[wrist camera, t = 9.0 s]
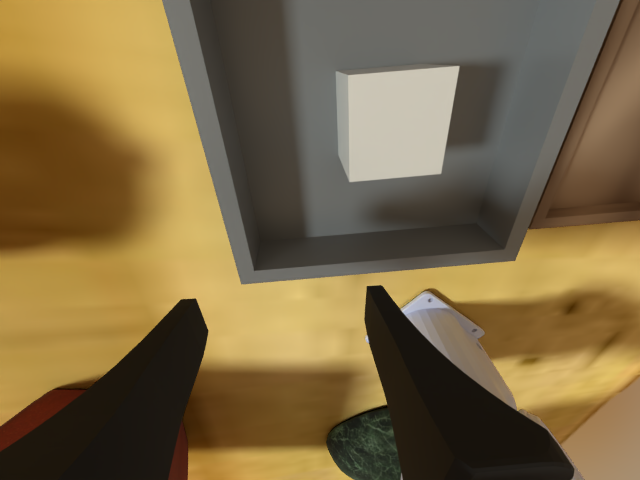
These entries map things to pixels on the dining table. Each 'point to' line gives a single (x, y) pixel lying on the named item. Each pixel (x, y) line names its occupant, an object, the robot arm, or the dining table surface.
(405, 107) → the block
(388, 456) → the goblet
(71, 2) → the dining table surface
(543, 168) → the bin
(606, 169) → the tray
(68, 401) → the plant pot
